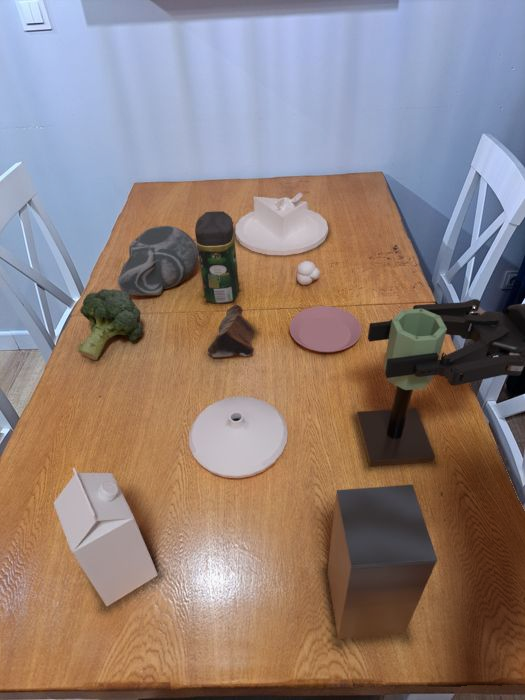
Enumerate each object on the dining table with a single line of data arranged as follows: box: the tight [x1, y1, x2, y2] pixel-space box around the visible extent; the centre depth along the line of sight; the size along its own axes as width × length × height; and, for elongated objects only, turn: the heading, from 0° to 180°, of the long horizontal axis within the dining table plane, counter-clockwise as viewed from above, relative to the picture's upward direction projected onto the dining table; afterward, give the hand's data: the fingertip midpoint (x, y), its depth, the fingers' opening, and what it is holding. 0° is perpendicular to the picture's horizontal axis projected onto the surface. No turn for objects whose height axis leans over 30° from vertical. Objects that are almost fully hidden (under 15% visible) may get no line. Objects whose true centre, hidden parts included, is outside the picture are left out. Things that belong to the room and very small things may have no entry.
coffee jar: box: [194, 210, 240, 305], centre depth 105 cm, size 10×8×19 cm
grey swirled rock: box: [117, 225, 199, 296], centre depth 112 cm, size 11×16×20 cm
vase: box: [188, 395, 289, 479], centre depth 77 cm, size 16×16×7 cm
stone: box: [207, 304, 256, 359], centre depth 98 cm, size 9×6×15 cm
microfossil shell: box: [296, 260, 321, 286], centre depth 112 cm, size 4×5×6 cm
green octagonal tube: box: [383, 308, 447, 391], centre depth 66 cm, size 6×6×9 cm
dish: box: [234, 192, 329, 256], centre depth 128 cm, size 25×25×11 cm
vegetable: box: [77, 288, 144, 361], centre depth 97 cm, size 12×13×15 cm
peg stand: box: [356, 385, 436, 468], centre depth 75 cm, size 10×10×14 cm
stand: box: [326, 484, 438, 640], centre depth 54 cm, size 8×8×20 cm
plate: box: [289, 305, 362, 353], centre depth 99 cm, size 14×14×2 cm
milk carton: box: [53, 467, 159, 607], centre depth 59 cm, size 7×7×19 cm
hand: (378, 349), depth 65 cm, fingers closed on green octagonal tube, 7 cm apart
